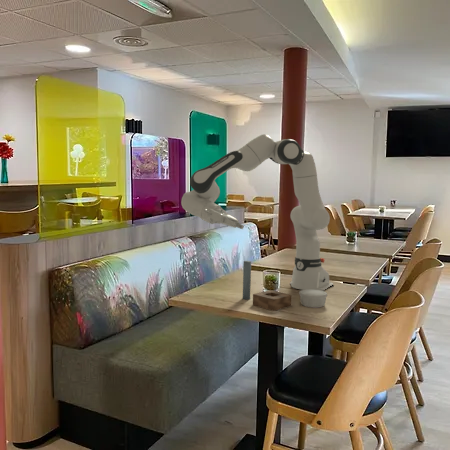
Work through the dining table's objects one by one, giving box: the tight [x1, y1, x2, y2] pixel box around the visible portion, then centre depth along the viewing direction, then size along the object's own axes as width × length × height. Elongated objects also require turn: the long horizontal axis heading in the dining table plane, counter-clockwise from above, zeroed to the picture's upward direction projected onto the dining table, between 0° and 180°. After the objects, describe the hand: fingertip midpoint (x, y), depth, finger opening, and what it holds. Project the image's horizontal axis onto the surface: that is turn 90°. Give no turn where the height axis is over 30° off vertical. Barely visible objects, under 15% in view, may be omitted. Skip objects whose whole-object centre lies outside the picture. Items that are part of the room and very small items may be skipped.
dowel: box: [242, 260, 252, 300], centre depth 195 cm, size 3×3×16 cm
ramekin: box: [298, 289, 328, 309], centre depth 189 cm, size 11×11×5 cm
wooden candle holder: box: [252, 289, 293, 312], centre depth 186 cm, size 11×11×4 cm
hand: (238, 226), depth 197 cm, fingers open, 8 cm apart
